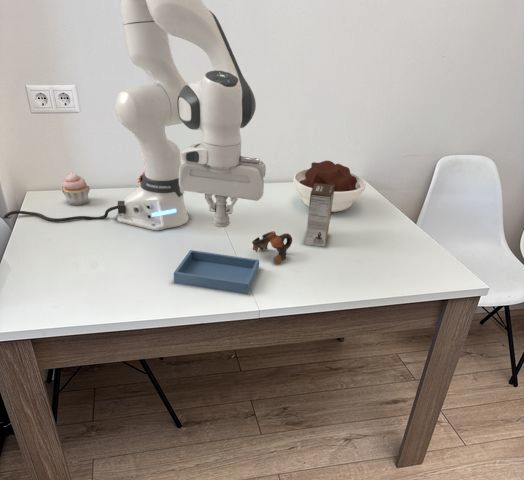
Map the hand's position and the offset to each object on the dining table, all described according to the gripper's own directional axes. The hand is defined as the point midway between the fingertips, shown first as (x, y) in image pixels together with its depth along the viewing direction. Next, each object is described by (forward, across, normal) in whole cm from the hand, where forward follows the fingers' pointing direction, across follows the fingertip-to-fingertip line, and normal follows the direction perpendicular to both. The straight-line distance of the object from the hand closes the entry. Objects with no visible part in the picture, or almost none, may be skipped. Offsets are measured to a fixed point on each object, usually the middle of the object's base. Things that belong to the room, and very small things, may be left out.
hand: (221, 212), depth 120 cm
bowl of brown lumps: (+18, -22, -60) cm, 66 cm away
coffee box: (+18, -22, -31) cm, 42 cm away
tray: (+18, +1, 0) cm, 18 cm away
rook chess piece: (+3, 0, 0) cm, 3 cm away
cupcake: (+18, +60, -34) cm, 72 cm away
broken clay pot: (+18, -11, -16) cm, 26 cm away
